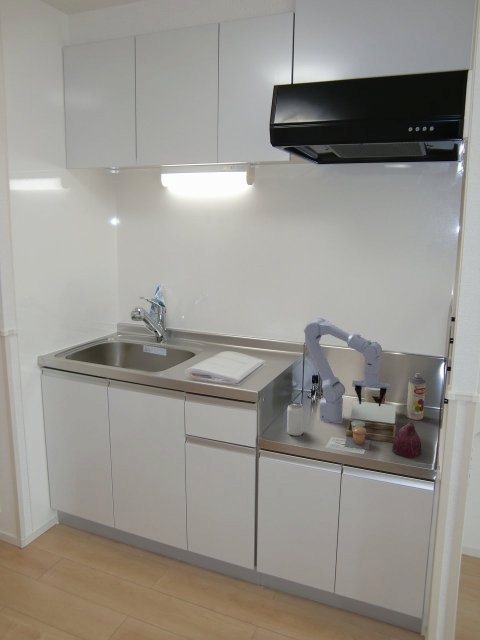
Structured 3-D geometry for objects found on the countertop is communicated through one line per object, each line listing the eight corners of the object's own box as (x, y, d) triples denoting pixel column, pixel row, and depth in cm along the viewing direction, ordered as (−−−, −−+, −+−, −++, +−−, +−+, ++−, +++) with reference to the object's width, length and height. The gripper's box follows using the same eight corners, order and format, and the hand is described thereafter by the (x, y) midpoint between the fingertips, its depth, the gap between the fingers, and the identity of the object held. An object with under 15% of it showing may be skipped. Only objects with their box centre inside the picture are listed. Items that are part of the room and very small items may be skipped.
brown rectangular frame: (345, 437, 197) (346, 424, 196) (351, 417, 215) (351, 405, 214) (394, 443, 191) (395, 430, 190) (396, 422, 209) (396, 410, 208)
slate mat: (344, 447, 189) (344, 446, 189) (346, 438, 196) (346, 436, 196) (368, 450, 186) (368, 449, 186) (370, 441, 193) (370, 440, 193)
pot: (350, 444, 190) (351, 431, 189) (353, 438, 195) (353, 425, 193) (364, 446, 188) (364, 433, 187) (366, 440, 193) (367, 427, 191)
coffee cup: (374, 418, 214) (375, 392, 211) (358, 410, 222) (359, 385, 219) (389, 413, 219) (391, 387, 216) (374, 406, 227) (375, 381, 224)
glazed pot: (350, 434, 198) (350, 425, 197) (351, 429, 203) (351, 419, 202) (363, 436, 196) (364, 427, 195) (365, 430, 201) (365, 421, 200)
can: (294, 427, 206) (294, 400, 203) (306, 432, 202) (306, 404, 199) (283, 432, 202) (284, 405, 199) (296, 437, 197) (296, 409, 194)
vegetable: (421, 467, 180) (431, 435, 173) (392, 461, 182) (401, 430, 174) (418, 447, 189) (428, 416, 182) (390, 442, 191) (399, 411, 184)
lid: (353, 400, 215) (353, 401, 215) (350, 418, 207) (350, 418, 207) (396, 405, 210) (395, 406, 210) (394, 423, 202) (394, 424, 202)
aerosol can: (412, 421, 210) (415, 377, 205) (403, 415, 216) (406, 371, 212) (426, 419, 212) (429, 375, 207) (416, 413, 218) (419, 370, 214)
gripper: (351, 374, 198) (350, 406, 201) (389, 377, 193) (388, 410, 197) (353, 368, 205) (352, 399, 208) (390, 371, 200) (388, 403, 203)
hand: (369, 404), depth 203 cm, fingers open, 7 cm apart
